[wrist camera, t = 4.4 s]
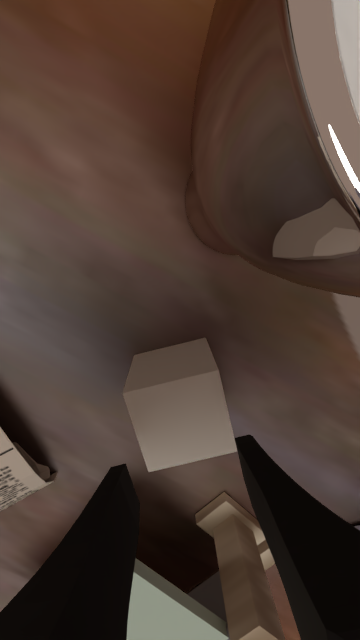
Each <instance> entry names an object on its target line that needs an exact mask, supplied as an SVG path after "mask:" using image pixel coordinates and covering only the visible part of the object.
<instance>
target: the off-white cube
mask: <svg viewBox="0 0 360 640" xmlns="http://www.w3.org/2000/svg"><path fill="white" fill-rule="evenodd" d="M122 394H123V397H124V400H125V403H126V406H127V409H128V412H129V415H130V418H131V421H132V424H133V427H134V430H135V433H136V436H137V439H138V442H139V445H140V448H141V451H142V454H143V457H144V460H145V463H146V466H147V469H148V472H152V471H156V470H160V469H165V468H169V467H173V466H177V465H182V464H186V463H190V462H195V461H199V460H203V459H207V458H212V457H216V456H220V455H224V454H229V453H233V452H237V448H236V444H235V440H234V435H233V431H232V426H231V422H230V418H229V413H228V409H227V404H226V400H225V396H224V391H223V387H222V382H221V378H220V374H219V369H218V367H217V364H216V362H215V360H214V357H213V355H212V352H211V350H210V347H209V345H208V342H207V340H206V338H202V339H198V340H193V341H189V342H185V343H181V344H177V345H173V346H169V347H165V348H161V349H157V350H153V351H149V352H145V353H140V354H136V355H134V357H133V360H132V363H131V367H130V370H129V373H128V376H127V379H126V383H125V386H124V389H123V392H122Z"/></svg>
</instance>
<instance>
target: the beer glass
mask: <svg viewBox="0 0 360 640" xmlns="http://www.w3.org/2000/svg"><path fill="white" fill-rule="evenodd" d="M191 162H192V172H191V174H190V177H189V179H188V182H187V186H186V192H185V208H186V213H187V217H188V220H189V223H190V225H191V227H192V229H193V231H194V233H195V234H196V236H197V237H198V238H199V239H200V240H201V241H202V242H203V243H204V244H205V245H207V246H208V247H209V248H211V249H213V250H215V251H217V252H220V253H223V254H227V255H239V256H240V257H241V258H243V259H244V260H245V261H247V262H248V263H250V264H251V265H253V266H255V267H257V268H258V269H260V270H262V271H265V272H267V273H269V274H272V275H275V276H277V277H280V278H282V279H285V280H288V281H290V282H293V283H296V284H299V285H303V286H307V287H311V288H316V289H320V290H324V291H329V292H333V293H337V294H342V295H348V296H354V297H360V0H216V1H215V5H214V8H213V12H212V16H211V20H210V25H209V29H208V33H207V38H206V42H205V46H204V51H203V55H202V59H201V64H200V68H199V73H198V78H197V84H196V91H195V99H194V107H193V116H192V125H191Z"/></svg>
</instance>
